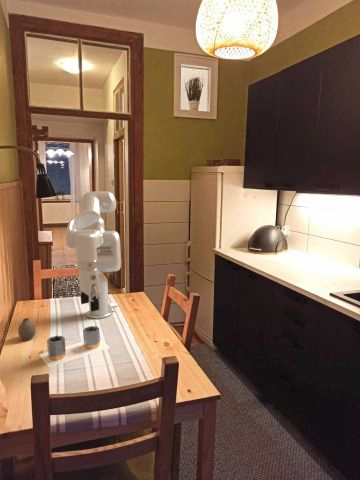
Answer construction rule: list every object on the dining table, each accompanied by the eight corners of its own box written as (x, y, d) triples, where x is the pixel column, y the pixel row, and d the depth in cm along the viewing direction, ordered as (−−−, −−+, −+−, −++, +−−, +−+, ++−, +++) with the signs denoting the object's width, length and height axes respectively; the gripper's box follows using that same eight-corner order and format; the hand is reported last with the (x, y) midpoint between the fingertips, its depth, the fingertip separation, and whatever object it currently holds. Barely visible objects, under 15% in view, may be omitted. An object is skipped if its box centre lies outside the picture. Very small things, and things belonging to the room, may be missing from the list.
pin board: (97, 340, 148) (96, 323, 147) (110, 351, 138) (109, 332, 137) (39, 358, 134) (37, 339, 132) (48, 371, 124) (47, 351, 123)
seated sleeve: (62, 351, 136) (61, 334, 134) (67, 357, 131) (66, 339, 130) (47, 355, 132) (45, 338, 131) (51, 362, 128) (50, 344, 126)
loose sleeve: (95, 341, 144) (94, 325, 143) (101, 346, 139) (101, 329, 138) (82, 345, 141) (81, 328, 139) (88, 350, 136) (87, 333, 135)
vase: (39, 335, 153) (38, 317, 151) (28, 342, 146) (26, 323, 145) (27, 333, 155) (25, 315, 154) (15, 340, 149) (13, 321, 147)
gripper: (106, 267, 130) (108, 311, 133) (87, 259, 143) (90, 298, 147) (87, 271, 125) (89, 316, 129) (69, 262, 139) (72, 302, 142)
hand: (90, 306), depth 138 cm, fingers open, 9 cm apart
